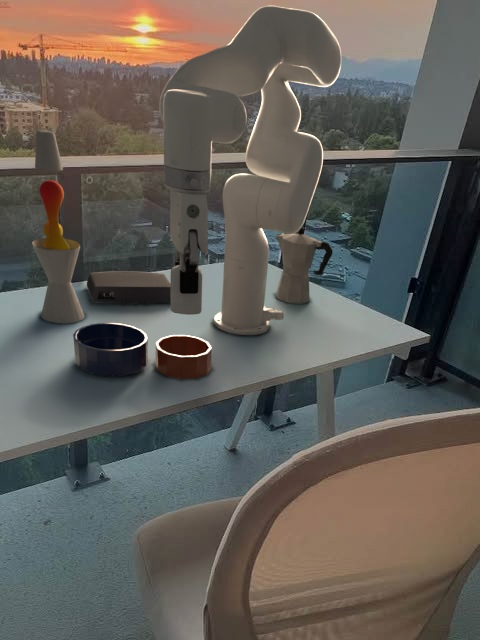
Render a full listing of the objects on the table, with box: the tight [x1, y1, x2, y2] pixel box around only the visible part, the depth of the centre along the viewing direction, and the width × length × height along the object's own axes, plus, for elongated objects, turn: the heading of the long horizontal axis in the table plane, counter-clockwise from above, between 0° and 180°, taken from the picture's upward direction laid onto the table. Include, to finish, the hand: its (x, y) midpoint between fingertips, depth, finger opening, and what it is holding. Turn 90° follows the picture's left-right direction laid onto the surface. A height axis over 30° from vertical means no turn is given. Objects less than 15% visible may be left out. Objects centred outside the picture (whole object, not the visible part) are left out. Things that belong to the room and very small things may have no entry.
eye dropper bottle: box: [170, 249, 203, 316], centre depth 111 cm, size 4×6×12 cm
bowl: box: [72, 322, 149, 378], centre depth 116 cm, size 13×13×6 cm
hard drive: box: [86, 270, 171, 304], centre depth 147 cm, size 13×19×4 cm
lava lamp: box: [31, 129, 86, 324], centre depth 123 cm, size 9×9×35 cm
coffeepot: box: [274, 226, 333, 305], centre depth 158 cm, size 15×9×18 cm, turn 72°
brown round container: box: [154, 334, 213, 380], centre depth 119 cm, size 10×10×4 cm
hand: (186, 287), depth 112 cm, fingers closed on eye dropper bottle, 3 cm apart
